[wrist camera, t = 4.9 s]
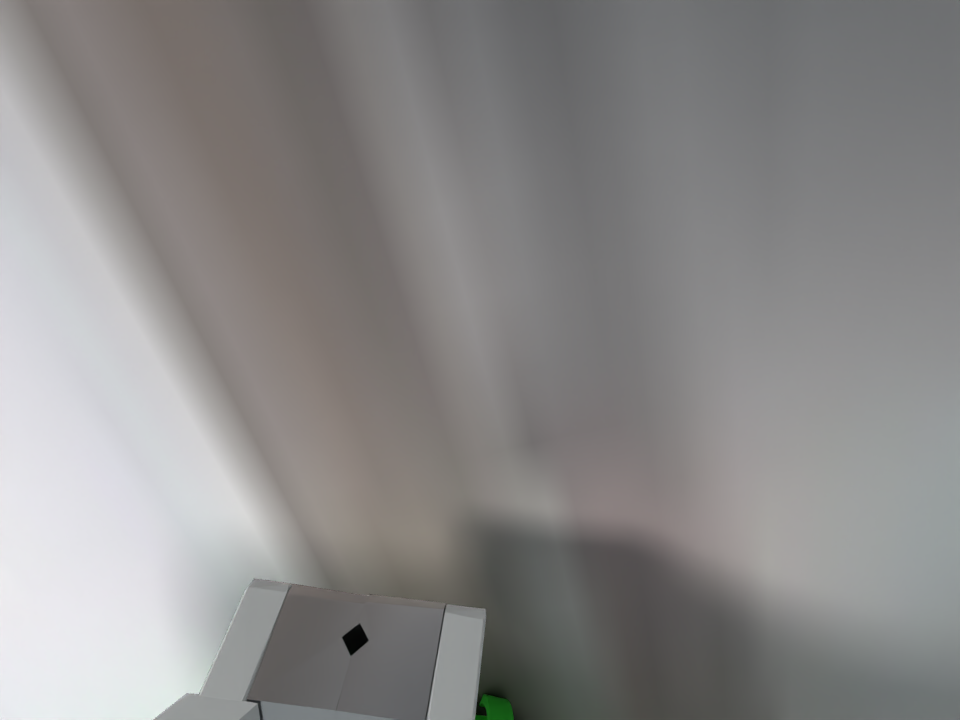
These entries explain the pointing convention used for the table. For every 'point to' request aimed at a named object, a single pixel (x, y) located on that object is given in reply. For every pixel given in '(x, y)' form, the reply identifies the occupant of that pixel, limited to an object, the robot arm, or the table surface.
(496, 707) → the chandelier
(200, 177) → the table surface
